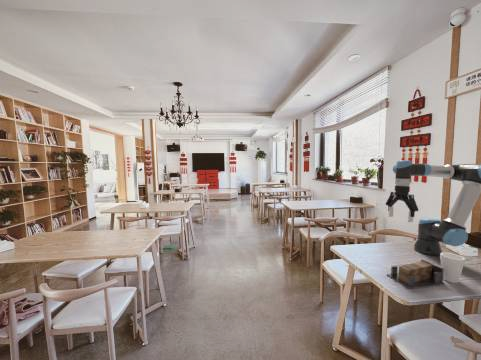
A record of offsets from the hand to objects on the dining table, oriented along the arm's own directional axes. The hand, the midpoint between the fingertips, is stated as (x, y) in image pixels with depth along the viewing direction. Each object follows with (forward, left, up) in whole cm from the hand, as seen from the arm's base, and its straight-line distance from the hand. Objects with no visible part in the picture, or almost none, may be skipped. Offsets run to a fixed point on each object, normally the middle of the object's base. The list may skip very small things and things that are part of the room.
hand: (400, 219), depth 139 cm
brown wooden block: (+12, +21, -26) cm, 35 cm away
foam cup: (-7, +25, -27) cm, 37 cm away
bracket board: (+12, +21, -27) cm, 36 cm away
